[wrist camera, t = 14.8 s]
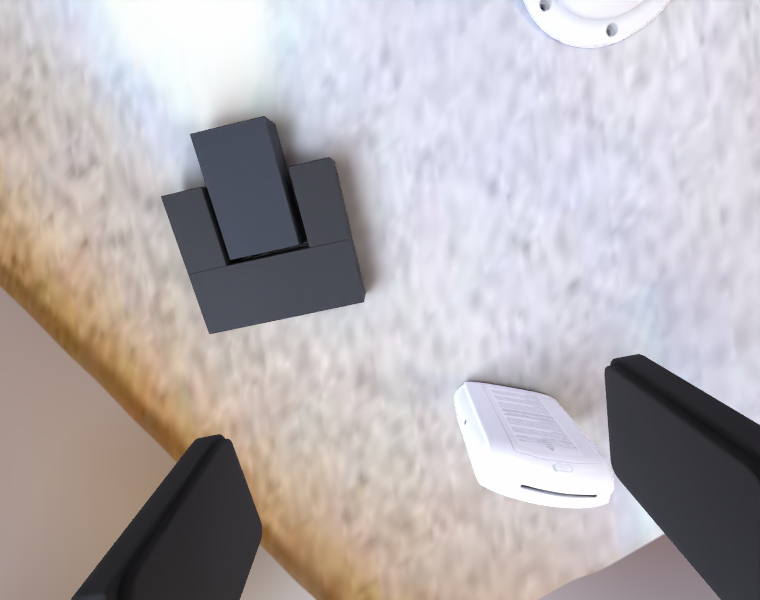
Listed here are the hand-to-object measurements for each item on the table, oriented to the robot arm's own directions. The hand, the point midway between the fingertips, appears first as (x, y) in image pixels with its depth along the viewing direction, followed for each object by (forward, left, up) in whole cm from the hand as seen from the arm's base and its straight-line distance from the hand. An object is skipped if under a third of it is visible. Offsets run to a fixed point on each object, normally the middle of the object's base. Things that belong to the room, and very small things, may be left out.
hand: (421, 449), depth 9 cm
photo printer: (+16, +8, -26) cm, 32 cm away
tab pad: (-9, -10, -26) cm, 30 cm away
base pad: (-4, -10, -26) cm, 28 cm away
